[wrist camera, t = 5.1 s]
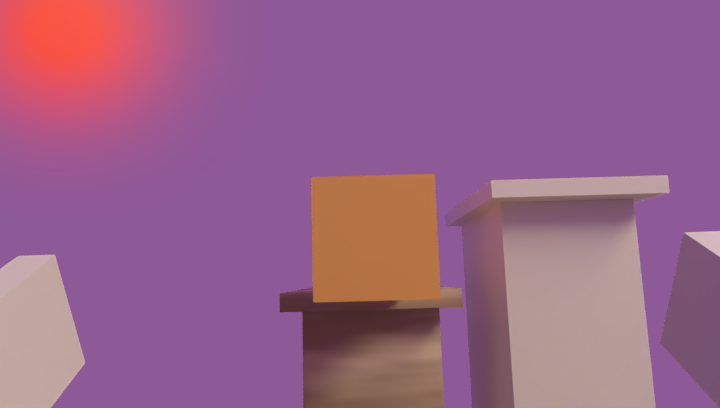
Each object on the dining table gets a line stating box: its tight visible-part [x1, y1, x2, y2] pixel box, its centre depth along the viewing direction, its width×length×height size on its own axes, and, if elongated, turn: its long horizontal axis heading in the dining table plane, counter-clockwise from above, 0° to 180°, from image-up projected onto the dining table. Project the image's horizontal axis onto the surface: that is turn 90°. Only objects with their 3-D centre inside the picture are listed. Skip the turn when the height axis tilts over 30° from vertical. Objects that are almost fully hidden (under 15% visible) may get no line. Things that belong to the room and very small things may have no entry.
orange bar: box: [311, 174, 441, 303], centre depth 29 cm, size 26×5×5 cm, turn 0°
